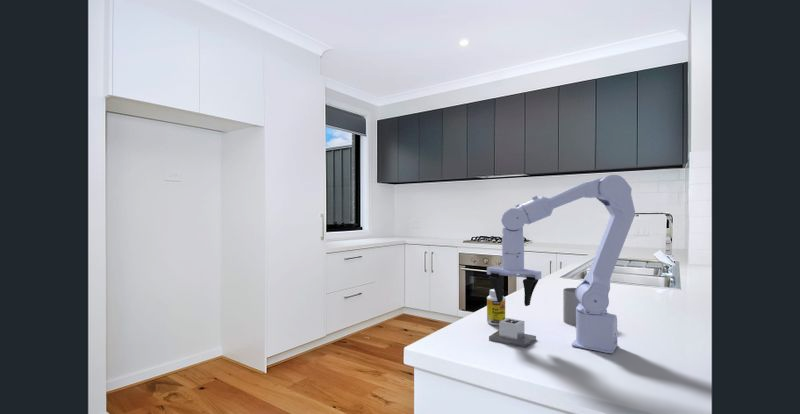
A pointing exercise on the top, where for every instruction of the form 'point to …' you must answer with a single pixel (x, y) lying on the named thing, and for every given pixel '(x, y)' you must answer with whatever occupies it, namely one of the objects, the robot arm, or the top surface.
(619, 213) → the robot arm
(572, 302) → the cup
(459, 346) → the top surface
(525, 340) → the block
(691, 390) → the top surface
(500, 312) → the supplement bottle
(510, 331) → the square hole block
